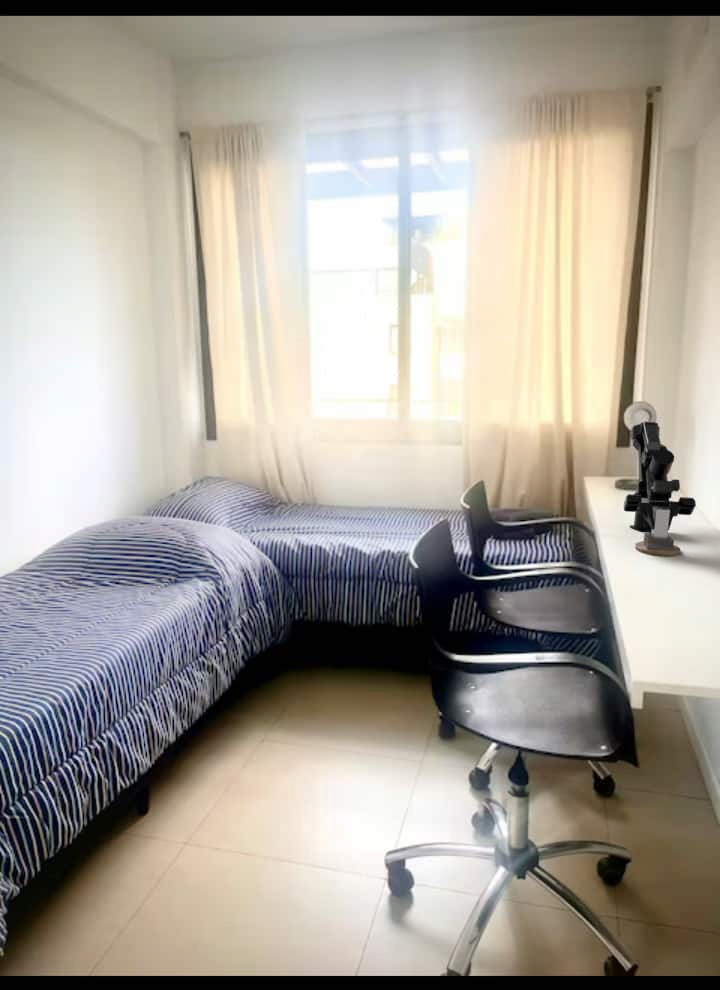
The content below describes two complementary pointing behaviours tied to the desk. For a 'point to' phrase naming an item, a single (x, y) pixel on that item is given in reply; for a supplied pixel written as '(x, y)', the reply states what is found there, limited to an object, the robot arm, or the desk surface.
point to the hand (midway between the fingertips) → (660, 529)
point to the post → (660, 522)
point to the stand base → (657, 546)
